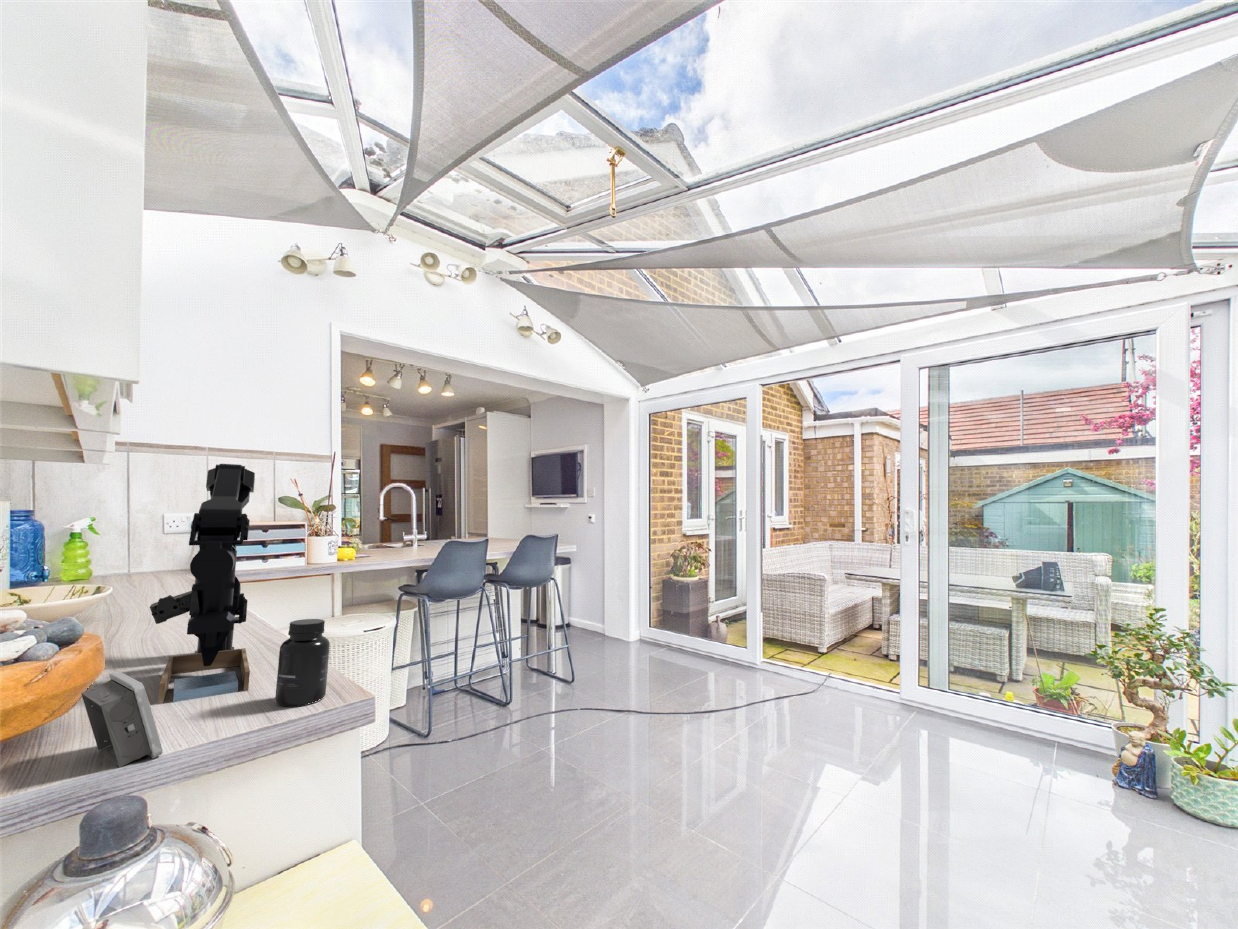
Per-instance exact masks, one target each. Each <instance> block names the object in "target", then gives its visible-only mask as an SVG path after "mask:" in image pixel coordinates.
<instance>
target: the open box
mask: <svg viewBox="0 0 1238 929" xmlns="http://www.w3.org/2000/svg"><path fill="white" fill-rule="evenodd" d="M246 649H247V648H245V647H242V648H237V649H236V648H234V650H225V651H219V652H218V654H217V656H216V658H215V659H214V661H213V663H212V665H211V666H204V665H203V659H202V653H198V654H194V653H191V654H180V655H174V656H168V659H167V663H166V666H165V668H164V670H163V674H162V676H161V679H160V682H159V691H158V699H157V700H158V701H157V705H160V704H164V703H165V698H166V695H167V691H168V689H169V684H170V681H171V677H172V676H173V675H177V674H185V673H190V672H191V673H193V672H200V671H207V670H215V669H217V670H218V669H223V668H232V667H239V665H240V673H241V681H242V688H243V691H244V692H246V691H249V687H250V686H249V685H250V677H251V676H250V675H251V673H250V672H251V670H250V664H249V660H248V656H247V650H246Z"/></svg>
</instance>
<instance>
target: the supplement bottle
mask: <svg viewBox="0 0 1238 929" xmlns="http://www.w3.org/2000/svg"><path fill="white" fill-rule="evenodd" d="M325 623H326V622H325V619H321V618H320V619H319V618H305V619H304V618H303V619H297V620H293V621H290V622H289V627H288V628H289V630H288V634H287V635H288V636H289V638H288V639H286V640H284V641H283V642H282V643H281V645H280V646H279V653H278V654H279V655H278V663H277V664H278V665H277V675H276V686H275V687H276V688H275V699H274V701H275V703H276V704H277V705H278V706H281V707H288V708H292V707H291V706H296V707H299V706H298V705H304V706H306V705H305V704H308V703H312V702H315V701H318V700H319V699H321V698H323V697H324V698H325V697H326V692H327V685H328V682H327V681H328V670H329V659H330V646H331V644H330V640H329V639H328V638H327V637H326V636H324V635H323V634H324V633H325ZM324 698H323V699H324ZM321 700H322V699H321ZM318 702H319V701H318Z"/></svg>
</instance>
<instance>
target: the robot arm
mask: <svg viewBox="0 0 1238 929" xmlns="http://www.w3.org/2000/svg"><path fill="white" fill-rule="evenodd" d="M255 477H256V474H255V472H253V471H252V470H249V469H247V468H246V465H242V464H234V463H219V464H215V467H214V468H211V469H208V470H207V475H206V483H205V488H206V491H207V492H209V494H210V495H209V496H210V499H207V500H205V501H202V502H201V505H200V507H199V509H198V512H194V514H193V518H192V524H191V530H190V536H189V541H188V546H199V550H198V551H197V553H196V554H194V556H193V557H192V560H191V561H190V563H189V569H190V573H191V575H192V576H193V578H194V583H192V586H191V590H190V591H186V592H184V593H179V594H177V595H174V596H173V595H171V594H168V596H165V597H160V598H159V599H158V601H156V602H153V603H152V604H150V606H149V609H150V610H149V611H150V612H151V616H152V617H153V619H154V623H155V625H158V624H162V623H165V622H167V620H170V619H173V618H176V617H178V616H182V615H184V614H187V613H188V615H189V616H190V618H189V619H188V621H187V630H186V635H189V636H190V635H194V636H195V637H196V638H197V649H196V650H195V651H194V653H193V654H198V653H202V659H203V665H204V666H211V665H212V663H213V661H214V659H215V658H216V656H217V654H218V652H219V651H225V650H234V649H235V647H234V646H233V642H234V630H235V629H234V628H235V624H242V623H245V622H247V614H248V611H247V610H248V599H246V596H245V593H243V592H242V593H241V588H242V587H241V582H240V580H239V579H238V577H237V576H236V566H237V553H238V550H237V546H243V545H244V541H248V539H249V532H250V530H249V529H250V518H248V514H247V513H243V509H244V508H245V507H246V506H247V504H248V503H250V494H251V493H254V492H255V483H256V482H255V481H256V478H255Z"/></svg>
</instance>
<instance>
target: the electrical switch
mask: <svg viewBox="0 0 1238 929" xmlns="http://www.w3.org/2000/svg"><path fill="white" fill-rule="evenodd" d="M145 688H146V687H145V686H144V684H143V682H141V681H138V680H137V679H135V678H133V677H130V676H129V675H127V674H126V673H123V672H121V671H114V672H112V673H109V680H108V681H107V682H104V683H101V684H99V685H98V686H95V687H94V688H90V689H88V690H87V689H86V690H85V691H82V692H81V693H80V694H81V698H82V702H83V704H84V707H85V711H86V714H87V717H88V720H89V723H90V727H91V729H92V733H93V738H94V741H95V744H96V747H97V750H98V751H99V752H100V753H101V754H102V755H104V756H105V757H106V758H107V759H109V760H110V761H111V762H113V763H114V764H115V765H116V766H117V767H118V768H122V767H123V766H126V765H128V764H130V763H132V762H135V761H136V760H139V759H141V758H143V757H145V756H149V757H150V758H151V759H156V758H157V757H159V756H161V755H162V754H163V748H162V743H161V738H160V734H159V731H158V728H157V724H156V721H155V717H154V714H153V710H152V706H151V703H150V700H149V698H148V695H147V692H146V689H145Z"/></svg>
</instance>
